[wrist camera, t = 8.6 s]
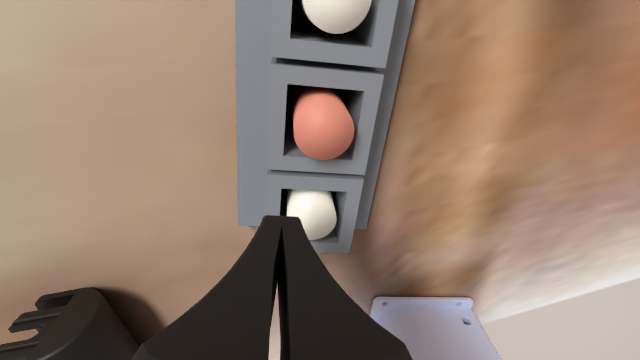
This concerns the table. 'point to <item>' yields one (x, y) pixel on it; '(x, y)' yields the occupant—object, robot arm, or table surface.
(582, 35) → the table surface
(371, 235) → the table surface
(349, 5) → the near ivory plug
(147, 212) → the table surface
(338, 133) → the salmon rounded peg
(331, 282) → the robot arm
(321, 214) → the far ivory plug
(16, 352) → the end cap
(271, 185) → the socket strip
